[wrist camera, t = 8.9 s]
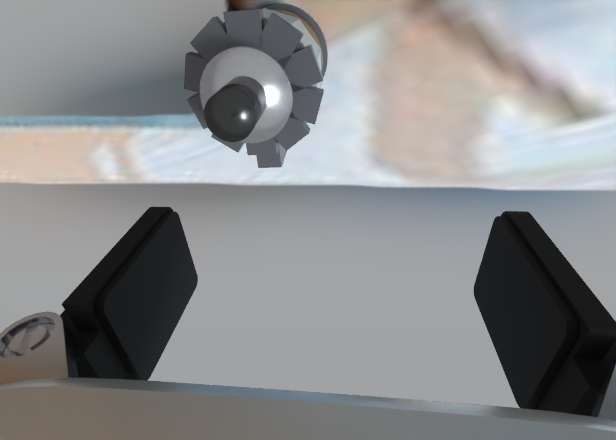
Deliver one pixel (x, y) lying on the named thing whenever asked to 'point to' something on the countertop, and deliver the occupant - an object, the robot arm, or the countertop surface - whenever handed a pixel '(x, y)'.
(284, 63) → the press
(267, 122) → the plunger
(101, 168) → the countertop surface
